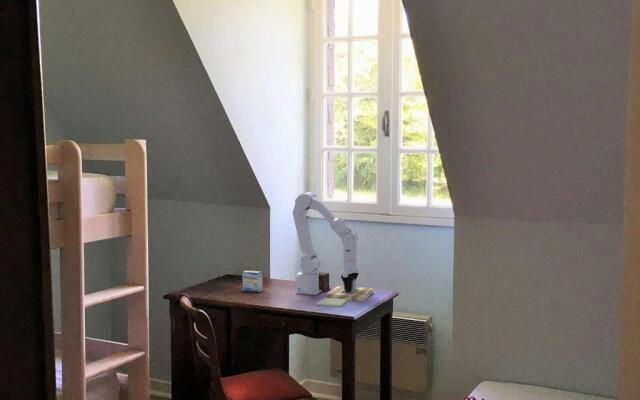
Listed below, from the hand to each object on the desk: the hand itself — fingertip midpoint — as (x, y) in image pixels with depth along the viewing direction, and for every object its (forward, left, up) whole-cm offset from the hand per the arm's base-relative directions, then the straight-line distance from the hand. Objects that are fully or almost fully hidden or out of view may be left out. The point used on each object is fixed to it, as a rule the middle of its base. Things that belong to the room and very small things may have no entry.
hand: (349, 290), depth 305 cm
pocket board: (0, 0, -2) cm, 2 cm away
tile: (-3, -15, -2) cm, 15 cm away
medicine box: (-44, -4, -2) cm, 44 cm away
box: (-16, +8, -2) cm, 18 cm away
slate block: (0, 0, -2) cm, 2 cm away
